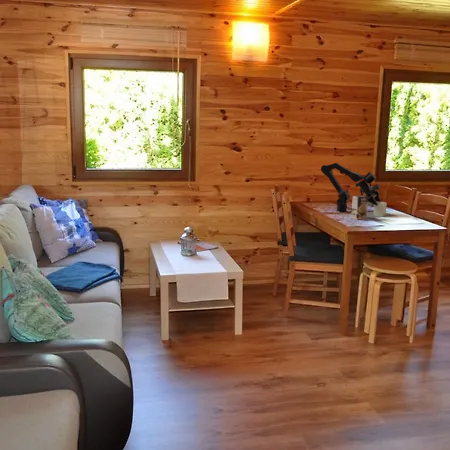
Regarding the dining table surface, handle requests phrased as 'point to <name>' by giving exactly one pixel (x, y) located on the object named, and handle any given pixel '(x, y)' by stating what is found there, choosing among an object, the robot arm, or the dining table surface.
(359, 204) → the coffee box
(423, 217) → the dining table surface
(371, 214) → the mat
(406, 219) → the dining table surface
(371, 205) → the coffeepot
